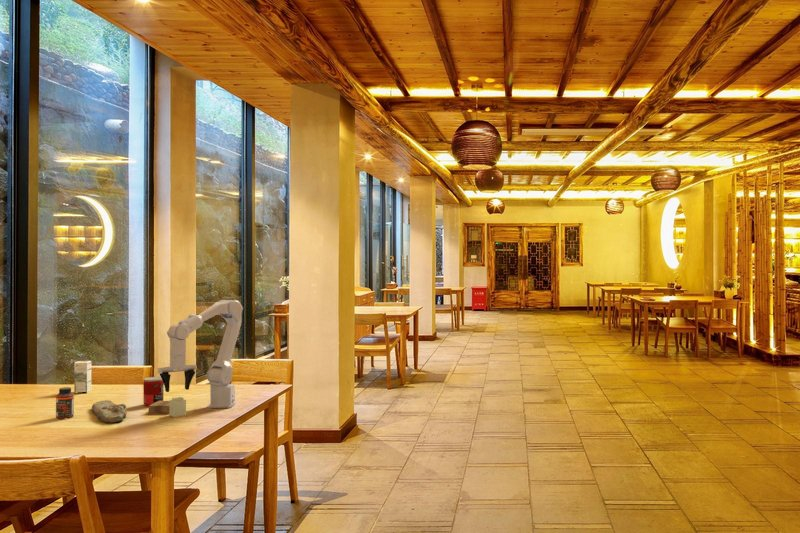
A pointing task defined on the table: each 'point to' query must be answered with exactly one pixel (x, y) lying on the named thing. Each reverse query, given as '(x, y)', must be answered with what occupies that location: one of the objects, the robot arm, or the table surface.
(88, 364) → the syrup box
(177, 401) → the cream cube with panel
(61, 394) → the supplement bottle
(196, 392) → the table surface
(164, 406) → the walnut box
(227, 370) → the robot arm
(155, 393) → the canned food
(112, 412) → the long grey stone
